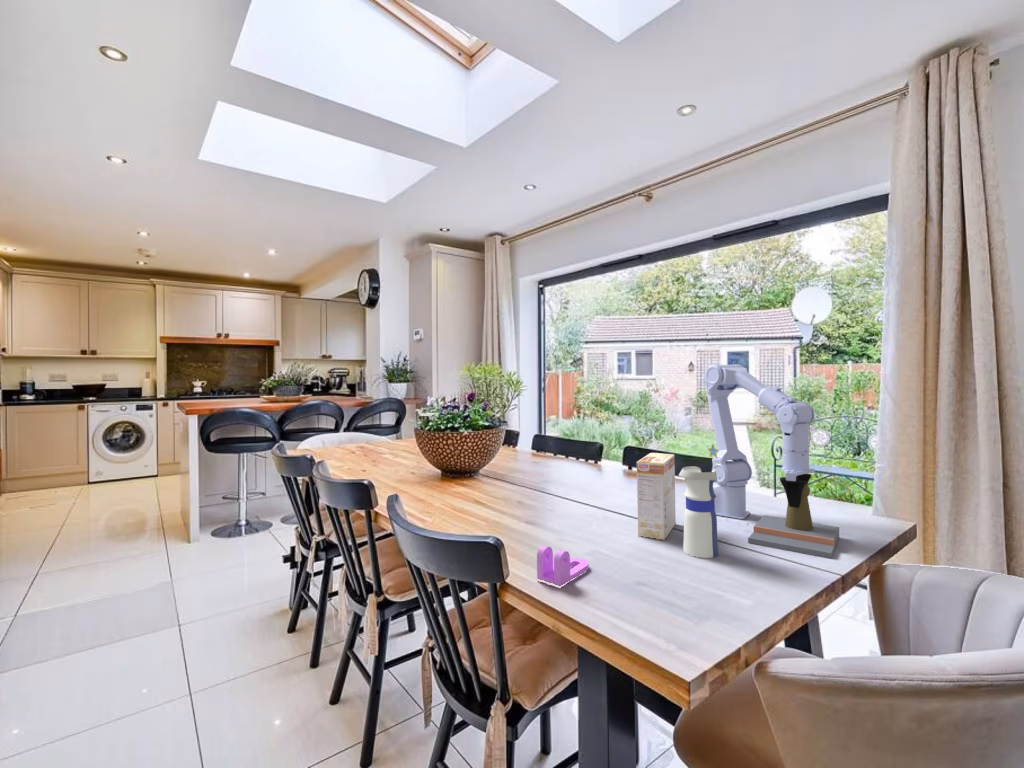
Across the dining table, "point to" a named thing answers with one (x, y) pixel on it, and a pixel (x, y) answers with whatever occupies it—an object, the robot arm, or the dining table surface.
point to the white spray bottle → (700, 511)
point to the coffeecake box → (656, 495)
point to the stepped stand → (795, 537)
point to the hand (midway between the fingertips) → (796, 504)
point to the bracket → (558, 566)
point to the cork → (800, 513)
